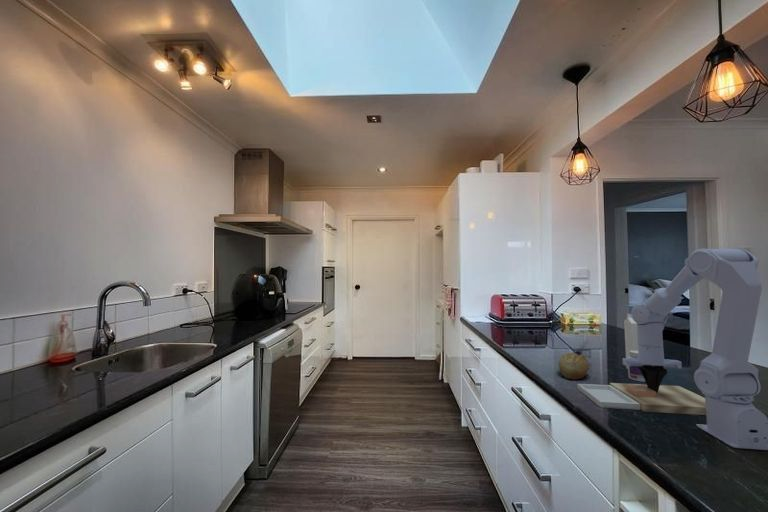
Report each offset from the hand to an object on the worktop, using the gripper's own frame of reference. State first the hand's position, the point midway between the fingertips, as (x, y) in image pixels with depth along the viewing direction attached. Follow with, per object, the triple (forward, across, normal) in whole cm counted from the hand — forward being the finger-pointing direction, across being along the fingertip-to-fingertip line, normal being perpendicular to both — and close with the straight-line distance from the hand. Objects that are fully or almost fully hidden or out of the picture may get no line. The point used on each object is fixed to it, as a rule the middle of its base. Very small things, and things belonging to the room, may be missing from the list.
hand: (653, 391), depth 89 cm
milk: (+3, -13, -28) cm, 31 cm away
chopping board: (+3, -2, 0) cm, 4 cm away
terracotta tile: (+1, +3, 0) cm, 3 cm away
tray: (+3, +13, 0) cm, 13 cm away
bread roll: (+3, +13, -21) cm, 25 cm away
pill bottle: (+3, -7, -19) cm, 21 cm away
